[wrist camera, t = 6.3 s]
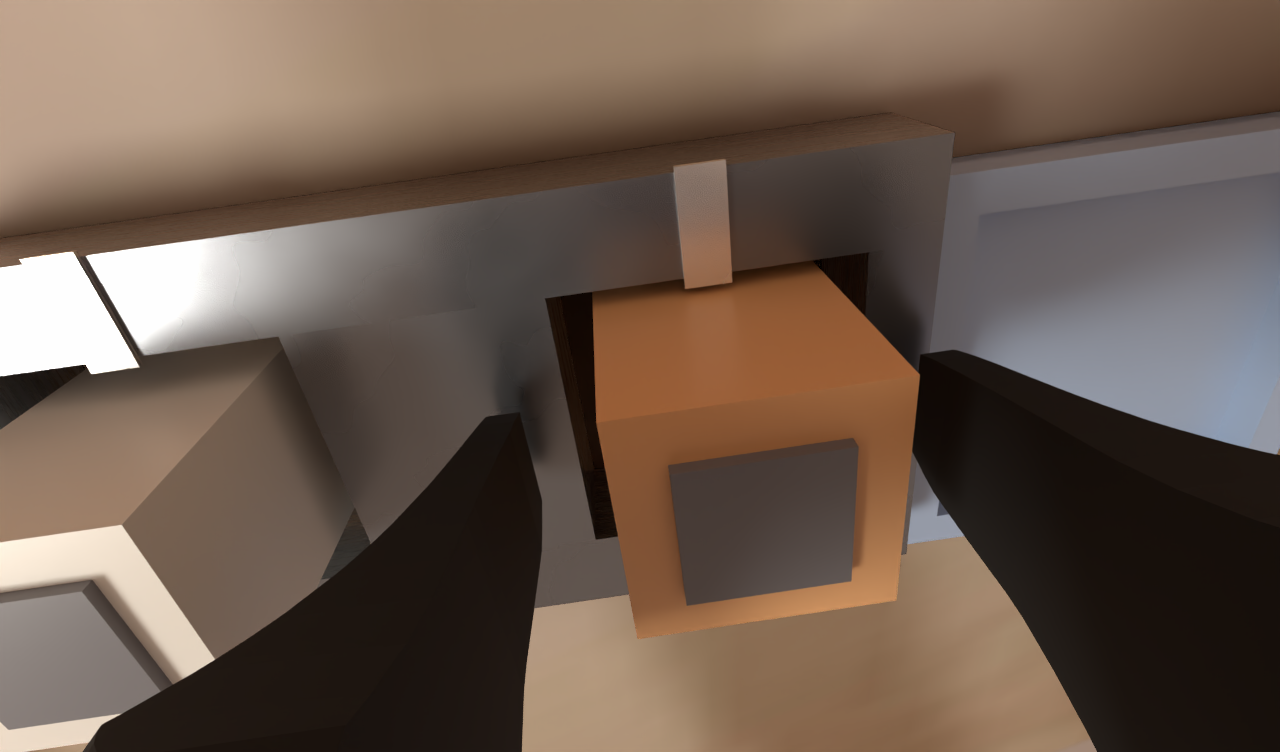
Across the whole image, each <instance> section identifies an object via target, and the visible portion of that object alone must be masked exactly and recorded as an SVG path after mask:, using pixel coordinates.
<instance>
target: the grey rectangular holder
mask: <svg viewBox="0 0 1280 752" xmlns="http://www.w3.org/2000/svg"><path fill="white" fill-rule="evenodd" d="M954 138H955V132H952V131H948V130H945V129H942V128H939V127H936V126H932V125H929V124H926V123H923V122H919V121H916V120H913V119H910V118H907V117H903V116H900V115H897V114H894V113H884V114H877V115H870V116H863V117H855V118H848V119H841V120H834V121H827V122H820V123H813V124H806V125H799V126H792V127H785V128H778V129H771V130H764V131H756V132H749V133H742V134H735V135H728V136H721V137H714V138H707V139H700V140H693V141H686V142H679V143H672V144H665V145H658V146H650V147H643V148H636V149H629V150H622V151H615V152H608V153H601V154H594V155H587V156H580V157H573V158H566V159H559V160H551V161H544V162H537V163H530V164H523V165H516V166H509V167H502V168H495V169H488V170H481V171H474V172H467V173H460V174H453V175H445V176H438V177H431V178H424V179H417V180H410V181H403V182H396V183H389V184H382V185H375V186H368V187H361V188H354V189H346V190H339V191H332V192H325V193H318V194H311V195H304V196H297V197H290V198H283V199H276V200H269V201H262V202H255V203H248V204H240V205H233V206H226V207H219V208H212V209H205V210H198V211H191V212H184V213H177V214H170V215H163V216H156V217H149V218H141V219H134V220H127V221H120V222H113V223H106V224H99V225H92V226H85V227H78V228H71V229H64V230H57V231H50V232H43V233H35V234H28V235H21V236H14V237H7V238H0V430H1V429H2V428H3V427H5V426H6V425H8V424H9V423H11V422H12V421H13V420H15V419H16V418H18V417H19V416H20V415H22V414H23V413H25V412H26V411H28V410H29V409H30V408H32V407H33V406H35V405H36V404H37V403H39V402H40V401H42V400H43V399H45V398H46V397H47V396H49V395H50V394H52V393H53V392H54V391H56V390H57V389H59V388H60V387H62V386H63V385H64V384H66V383H67V382H69V381H70V380H71V379H73V378H74V377H76V376H77V375H79V374H80V373H81V372H83V371H84V370H83V368H82V366H81V365H82V364H86V366H87V367H88V369H89V370H90V372H91V374H95V373H102V372H109V371H116V370H123V369H130V368H137V367H140V366H141V365H143V363H142V362H141V360H140V358H139V356H145V355H152V354H159V353H166V352H173V351H180V350H187V349H194V348H201V347H208V346H215V345H222V344H229V343H236V342H243V341H250V340H257V339H264V338H271V337H279V339H280V342H281V344H282V346H283V348H284V350H285V353H286V355H287V357H288V359H289V362H290V364H291V366H292V368H293V371H294V373H295V375H296V377H297V380H298V382H299V384H300V386H301V388H302V391H303V393H304V395H305V397H306V400H307V402H308V404H309V406H310V409H311V411H312V413H313V415H314V418H315V420H316V422H317V424H318V426H319V429H320V431H321V433H322V435H323V438H324V440H325V442H326V444H327V447H328V449H329V451H330V453H331V456H332V458H333V460H334V462H335V464H336V467H337V469H338V471H339V473H340V476H341V478H342V480H343V482H344V485H345V487H346V489H347V491H348V493H349V496H350V498H351V500H352V502H353V505H354V507H355V508H354V510H353V512H352V514H351V516H350V518H349V520H348V523H347V525H346V527H345V529H344V531H343V533H342V535H341V538H340V540H339V542H338V544H337V546H336V548H335V550H334V552H333V555H332V557H331V559H330V561H329V563H328V565H327V567H326V569H325V572H324V574H323V576H322V578H321V580H320V582H319V584H318V587H320V586H321V585H322V584H324V583H325V582H326V581H328V580H329V579H330V578H331V577H333V576H334V575H335V574H337V573H338V572H339V571H340V570H341V569H343V568H344V567H345V566H346V565H347V564H349V563H350V562H351V561H352V560H353V559H354V558H355V557H357V556H358V555H359V554H360V553H361V552H362V551H363V550H365V549H366V548H367V547H368V546H369V545H370V544H371V543H372V542H373V541H375V540H376V539H377V538H378V537H379V536H380V535H381V534H382V533H383V532H384V531H385V530H386V529H387V528H388V527H389V526H390V525H391V524H392V523H393V522H394V521H395V520H396V519H397V518H398V517H399V516H400V515H401V514H402V513H403V512H404V511H405V510H406V509H407V508H408V506H409V505H410V504H411V503H412V502H413V501H414V500H415V499H416V498H417V497H418V496H419V495H420V494H421V493H422V492H423V491H424V490H425V488H426V487H427V486H428V485H429V484H430V483H431V482H432V481H433V480H434V478H435V477H436V476H437V475H438V474H439V472H440V471H441V470H442V469H443V468H444V467H445V465H446V464H447V463H448V462H449V461H450V459H451V458H452V457H453V456H454V455H455V453H456V452H457V451H458V450H459V448H460V447H461V446H462V445H463V444H464V442H465V441H466V440H467V439H468V437H469V436H470V435H471V434H472V432H473V431H474V430H475V429H476V428H477V426H478V425H479V424H480V423H481V422H482V420H483V419H484V418H485V417H488V416H495V415H502V414H508V413H515V412H520V416H521V420H522V423H523V427H524V431H525V435H526V439H527V443H528V447H529V451H530V455H531V459H532V463H533V466H534V470H535V474H536V478H537V482H538V486H539V490H540V494H541V498H542V554H541V562H540V569H539V577H538V584H537V592H536V599H535V606H534V608H539V607H546V606H553V605H560V604H566V603H573V602H580V601H587V600H594V599H601V598H608V597H614V596H621V595H628V594H629V591H628V586H627V580H626V575H625V570H624V565H623V560H622V554H621V549H620V544H619V539H618V533H617V528H616V523H615V518H614V513H613V507H612V502H611V497H610V492H609V486H608V481H607V476H606V471H605V468H602V469H595V470H594V466H593V461H592V456H591V451H590V446H589V441H588V435H587V430H586V425H585V420H584V415H583V410H582V405H581V400H580V395H579V390H578V385H577V380H576V375H575V370H574V365H573V360H572V354H571V349H570V344H569V339H568V334H567V329H566V324H565V319H564V314H563V309H562V304H561V299H560V296H565V295H572V294H580V293H587V292H594V291H601V290H608V289H615V288H622V287H629V286H636V285H643V284H650V283H657V282H664V281H671V280H678V279H684V287H685V289H690V288H697V287H704V286H711V285H718V284H725V283H732V272H734V271H741V270H748V269H755V268H762V267H769V266H776V265H783V264H790V263H797V262H804V261H811V260H818V259H822V271H823V272H824V274H825V275H826V276H827V277H828V278H829V279H830V280H831V281H832V282H833V283H834V284H835V285H836V286H837V287H838V288H839V289H840V291H841V292H842V293H843V294H844V295H845V296H846V297H847V298H848V299H849V300H850V301H851V302H852V303H853V304H854V305H855V306H856V308H857V309H858V310H859V311H860V312H861V313H862V314H863V315H864V316H865V317H866V318H867V319H868V320H869V321H870V322H871V323H872V324H873V326H874V327H875V328H876V329H877V330H878V331H879V332H880V333H881V334H882V335H883V336H884V337H885V338H886V339H887V340H888V341H889V343H890V344H891V345H892V346H893V347H894V348H895V349H896V350H897V351H898V352H899V353H900V354H901V355H902V356H903V357H904V358H905V360H906V361H907V362H908V363H909V364H910V365H911V366H912V367H913V368H914V369H915V370H916V371H917V372H918V370H919V361H920V354H926V353H930V345H931V336H932V327H933V319H934V310H935V301H936V293H937V284H938V276H939V267H940V258H941V250H942V241H943V232H944V224H945V215H946V207H947V198H948V189H949V181H950V172H951V163H952V155H953V146H954ZM916 465H917V460H916V458H915V456H914V454H913V452H912V456H911V466H910V475H909V485H908V494H907V504H906V513H905V523H904V532H903V542H902V551H901V555H903V554H906V552H907V543H908V534H909V526H910V517H911V508H912V500H913V491H914V483H915V474H916ZM318 587H317V588H318Z"/></svg>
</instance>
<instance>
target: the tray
mask: <svg viewBox="0 0 1280 752" xmlns="http://www.w3.org/2000/svg"><path fill="white" fill-rule="evenodd" d="M947 350H958V351H962V352H965V353H968V354H971V355H974V356H977V357H980V358H983V359H985V360H988V361H991V362H993V363H996V364H999V365H1001V366H1004V367H1006V368H1009V369H1011V370H1014V371H1016V372H1019V373H1021V374H1024V375H1026V376H1029V377H1031V378H1034V379H1037V380H1039V381H1042V382H1044V383H1047V384H1049V385H1052V386H1054V387H1057V388H1060V389H1062V390H1065V391H1067V392H1070V393H1073V394H1075V395H1078V396H1080V397H1083V398H1086V399H1089V400H1091V401H1094V402H1097V403H1100V404H1102V405H1105V406H1108V407H1111V408H1114V409H1117V410H1120V411H1123V412H1126V413H1129V414H1132V415H1134V416H1137V417H1140V418H1143V419H1146V420H1149V421H1153V422H1156V423H1159V424H1162V425H1166V426H1169V427H1172V428H1176V429H1179V430H1183V431H1186V432H1190V433H1194V434H1197V435H1201V436H1204V437H1208V438H1212V439H1215V440H1219V441H1222V442H1226V443H1230V444H1234V445H1238V446H1242V447H1246V448H1250V449H1254V450H1259V451H1263V452H1267V453H1272V454H1277V452H1278V450H1279V448H1280V111H1279V112H1271V113H1264V114H1257V115H1250V116H1243V117H1236V118H1229V119H1222V120H1215V121H1208V122H1201V123H1194V124H1187V125H1180V126H1173V127H1166V128H1159V129H1152V130H1145V131H1138V132H1131V133H1124V134H1117V135H1109V136H1102V137H1095V138H1088V139H1081V140H1074V141H1067V142H1060V143H1053V144H1046V145H1039V146H1032V147H1025V148H1018V149H1011V150H1004V151H997V152H990V153H983V154H976V155H969V156H962V157H955V158H952V163H951V172H950V181H949V189H948V198H947V207H946V215H945V224H944V232H943V241H942V250H941V258H940V267H939V276H938V284H937V293H936V301H935V310H934V319H933V327H932V336H931V345H930V353H933V352H940V351H947ZM961 536H964V535H963V533H962V532H961V530H960V529H959V528H958V526H957V525H956V524H955V522H954V521H953V519H952V518H951V517H950V515H949V514H948V512H947V511H946V510H945V508H944V507H943V505H942V504H941V503H940V501H939V500H938V498H937V497H936V495H935V494H934V492H933V491H932V489H931V487H930V485H929V483H928V481H927V480H926V478H925V476H924V474H923V472H922V470H921V468H920V466H919V464H918V462H917V465H916V474H915V483H914V491H913V500H912V508H911V517H910V526H909V534H908V543H907V544H912V543H919V542H926V541H933V540H940V539H947V538H954V537H961Z"/></svg>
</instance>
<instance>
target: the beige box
mask: <svg viewBox="0 0 1280 752" xmlns="http://www.w3.org/2000/svg"><path fill="white" fill-rule="evenodd" d="M139 358H140V360H141V362H142V363H143V365H141V366H140V367H137V368H130V369H123V370H116V371H109V372H102V373H95V374H91V372H90V370H89V369H88V368H87V369H86V370H84V371H83V372H81V373H80V374H79V375H77V376H76V377H74V378H73V379H71V380H70V381H69V382H67V383H66V384H64V385H63V386H62V387H60V388H59V389H57V390H56V391H54V392H53V393H52V394H50V395H49V396H47V397H46V398H45V399H43V400H42V401H40V402H39V403H37V404H36V405H35V406H33V407H32V408H30V409H29V410H28V411H26V412H25V413H23V414H22V415H20V416H19V417H18V418H16V419H15V420H13V421H12V422H11V423H9V424H8V425H6V426H5V427H3V428H2V429H1V430H0V752H26V751H33V750H40V749H47V748H54V747H61V746H67V745H74V744H81V743H88V742H90V740H91V739H92V737H93V736H94V735H95V733H96V732H97V730H98V729H99V727H100V726H101V725H102V724H104V723H105V722H107V721H109V720H111V719H113V718H115V717H117V716H118V715H120V714H122V713H124V712H126V711H127V710H129V709H131V708H133V707H134V706H136V705H138V704H140V703H141V702H143V701H145V700H147V699H148V698H150V697H152V696H154V695H156V694H157V693H159V692H161V691H163V690H164V689H166V688H168V687H170V686H171V685H173V684H175V683H177V682H178V681H180V680H182V679H184V678H185V677H187V676H189V675H191V674H192V673H194V672H196V671H197V670H199V669H200V668H202V667H204V666H205V665H207V664H209V663H210V662H212V661H214V660H215V659H217V658H218V657H220V656H221V655H223V654H225V653H226V652H228V651H229V650H231V649H232V648H234V647H235V646H237V645H239V644H240V643H242V642H243V641H245V640H246V639H248V638H249V637H251V636H252V635H254V634H255V633H257V632H258V631H260V630H261V629H263V628H264V627H265V626H267V625H268V624H270V623H271V622H273V621H274V620H276V619H277V618H279V617H280V616H281V615H283V614H284V613H286V612H287V611H288V610H290V609H291V608H292V607H294V606H295V605H296V604H297V603H299V602H300V601H301V600H303V599H304V598H305V597H307V596H308V595H309V594H311V593H312V592H313V591H314V590H316V589H317V587H318V584H319V582H320V580H321V578H322V576H323V574H324V572H325V569H326V567H327V565H328V563H329V561H330V559H331V557H332V555H333V552H334V550H335V548H336V546H337V544H338V542H339V540H340V538H341V535H342V533H343V531H344V529H345V527H346V525H347V523H348V520H349V518H350V516H351V514H352V512H353V510H354V508H355V507H354V505H353V502H352V500H351V498H350V496H349V493H348V491H347V489H346V487H345V485H344V482H343V480H342V478H341V476H340V473H339V471H338V469H337V467H336V464H335V462H334V460H333V458H332V456H331V453H330V451H329V449H328V447H327V444H326V442H325V440H324V438H323V435H322V433H321V431H320V429H319V426H318V424H317V422H316V420H315V418H314V415H313V413H312V411H311V409H310V406H309V404H308V402H307V400H306V397H305V395H304V393H303V391H302V388H301V386H300V384H299V382H298V380H297V377H296V375H295V373H294V371H293V368H292V366H291V364H290V362H289V359H288V357H287V355H286V353H285V350H284V348H283V346H282V344H281V342H280V339H279V337H271V338H264V339H257V340H250V341H243V342H236V343H229V344H222V345H215V346H208V347H201V348H194V349H187V350H180V351H173V352H166V353H159V354H152V355H145V356H139Z"/></svg>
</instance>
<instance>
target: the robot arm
mask: <svg viewBox="0 0 1280 752" xmlns="http://www.w3.org/2000/svg"><path fill="white" fill-rule="evenodd" d="M918 373H919V374H920V380H919V390H918V399H917V409H916V418H915V428H914V437H913V447H912V452H913V454H914V456H915V458H916V460H917V462H918V464H919V466H920V468H921V470H922V472H923V474H924V476H925V478H926V480H927V481H928V483H929V485H930V487H931V489H932V491H933V492H934V494H935V495H936V497H937V498H938V500H939V501H940V503H941V504H942V505H943V507H944V508H945V510H946V511H947V512H948V514H949V515H950V517H951V518H952V519H953V521H954V522H955V524H956V525H957V526H958V528H959V529H960V530H961V532H962V533H963V535H964V536H965V537H966V539H967V540H968V541H969V543H970V544H971V545H972V547H973V548H974V549H975V551H976V552H977V554H978V555H979V556H980V558H981V559H982V560H983V562H984V563H985V564H986V566H987V567H988V569H989V570H990V571H991V573H992V574H993V575H994V577H995V578H996V579H997V581H998V582H999V584H1000V585H1001V586H1002V588H1003V589H1004V590H1005V592H1006V593H1007V595H1008V596H1009V598H1010V599H1011V600H1012V602H1013V603H1014V605H1015V606H1016V608H1017V609H1018V611H1019V612H1020V614H1021V615H1022V617H1023V619H1024V620H1025V622H1026V624H1027V625H1028V627H1029V629H1030V631H1031V632H1032V634H1033V636H1034V637H1035V639H1036V641H1037V643H1038V644H1039V646H1040V648H1041V649H1042V651H1043V653H1044V655H1045V656H1046V658H1047V660H1048V661H1049V663H1050V665H1051V667H1052V668H1053V670H1054V672H1055V674H1056V675H1057V677H1058V679H1059V681H1060V683H1061V685H1062V686H1063V688H1064V690H1065V692H1066V694H1067V696H1068V697H1069V699H1070V701H1071V703H1072V705H1073V707H1074V708H1075V710H1076V712H1077V714H1078V716H1079V718H1080V719H1081V721H1082V723H1083V725H1084V727H1085V729H1086V731H1087V733H1088V734H1089V736H1090V738H1091V740H1092V742H1093V744H1094V746H1095V748H1096V750H1097V752H1280V455H1277V454H1272V453H1267V452H1263V451H1259V450H1254V449H1250V448H1246V447H1242V446H1238V445H1234V444H1230V443H1226V442H1222V441H1219V440H1215V439H1212V438H1208V437H1204V436H1201V435H1197V434H1194V433H1190V432H1186V431H1183V430H1179V429H1176V428H1172V427H1169V426H1166V425H1162V424H1159V423H1156V422H1153V421H1149V420H1146V419H1143V418H1140V417H1137V416H1134V415H1132V414H1129V413H1126V412H1123V411H1120V410H1117V409H1114V408H1111V407H1108V406H1105V405H1102V404H1100V403H1097V402H1094V401H1091V400H1089V399H1086V398H1083V397H1080V396H1078V395H1075V394H1073V393H1070V392H1067V391H1065V390H1062V389H1060V388H1057V387H1054V386H1052V385H1049V384H1047V383H1044V382H1042V381H1039V380H1037V379H1034V378H1031V377H1029V376H1026V375H1024V374H1021V373H1019V372H1016V371H1014V370H1011V369H1009V368H1006V367H1004V366H1001V365H999V364H996V363H993V362H991V361H988V360H985V359H983V358H980V357H977V356H974V355H971V354H968V353H965V352H962V351H958V350H947V351H940V352H933V353H926V354H920V361H919V370H918ZM541 554H542V498H541V494H540V490H539V486H538V482H537V478H536V474H535V470H534V466H533V463H532V459H531V455H530V451H529V447H528V443H527V439H526V435H525V431H524V427H523V423H522V420H521V416H520V412H515V413H508V414H502V415H495V416H488V417H485V418H484V419H483V420H482V422H481V423H480V424H479V425H478V426H477V428H476V429H475V430H474V431H473V432H472V434H471V435H470V436H469V437H468V439H467V440H466V441H465V442H464V444H463V445H462V446H461V447H460V448H459V450H458V451H457V452H456V453H455V455H454V456H453V457H452V458H451V459H450V461H449V462H448V463H447V464H446V465H445V467H444V468H443V469H442V470H441V471H440V472H439V474H438V475H437V476H436V477H435V478H434V480H433V481H432V482H431V483H430V484H429V485H428V486H427V487H426V488H425V490H424V491H423V492H422V493H421V494H420V495H419V496H418V497H417V498H416V499H415V500H414V501H413V502H412V503H411V504H410V505H409V506H408V508H407V509H406V510H405V511H404V512H403V513H402V514H401V515H400V516H399V517H398V518H397V519H396V520H395V521H394V522H393V523H392V524H391V525H390V526H389V527H388V528H387V529H386V530H385V531H384V532H383V533H382V534H381V535H380V536H379V537H378V538H377V539H376V540H375V541H373V542H372V543H371V544H370V545H369V546H368V547H367V548H366V549H365V550H363V551H362V552H361V553H360V554H359V555H358V556H357V557H355V558H354V559H353V560H352V561H351V562H350V563H349V564H347V565H346V566H345V567H344V568H343V569H341V570H340V571H339V572H338V573H337V574H335V575H334V576H333V577H331V578H330V579H329V580H328V581H326V582H325V583H324V584H322V585H321V586H320V587H318V588H317V589H316V590H314V591H313V592H312V593H311V594H309V595H308V596H307V597H305V598H304V599H303V600H301V601H300V602H299V603H297V604H296V605H295V606H294V607H292V608H291V609H290V610H288V611H287V612H286V613H284V614H283V615H281V616H280V617H279V618H277V619H276V620H274V621H273V622H271V623H270V624H268V625H267V626H265V627H264V628H263V629H261V630H260V631H258V632H257V633H255V634H254V635H252V636H251V637H249V638H248V639H246V640H245V641H243V642H242V643H240V644H239V645H237V646H235V647H234V648H232V649H231V650H229V651H228V652H226V653H225V654H223V655H221V656H220V657H218V658H217V659H215V660H214V661H212V662H210V663H209V664H207V665H205V666H204V667H202V668H200V669H199V670H197V671H196V672H194V673H192V674H191V675H189V676H187V677H185V678H184V679H182V680H180V681H178V682H177V683H175V684H173V685H171V686H170V687H168V688H166V689H164V690H163V691H161V692H159V693H157V694H156V695H154V696H152V697H150V698H148V699H147V700H145V701H143V702H141V703H140V704H138V705H136V706H134V707H133V708H131V709H129V710H127V711H126V712H124V713H122V714H120V715H118V716H117V717H115V718H113V719H111V720H109V721H107V722H105V723H104V724H102V725H101V726H100V727H99V729H98V730H97V732H96V733H95V735H94V736H93V737H92V739H91V740H90V742H89V743H88V745H87V746H86V748H85V749H84V751H83V752H522V728H523V701H524V684H525V673H526V663H527V656H528V649H529V642H530V635H531V627H532V620H533V613H534V606H535V599H536V592H537V584H538V577H539V569H540V562H541Z"/></svg>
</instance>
